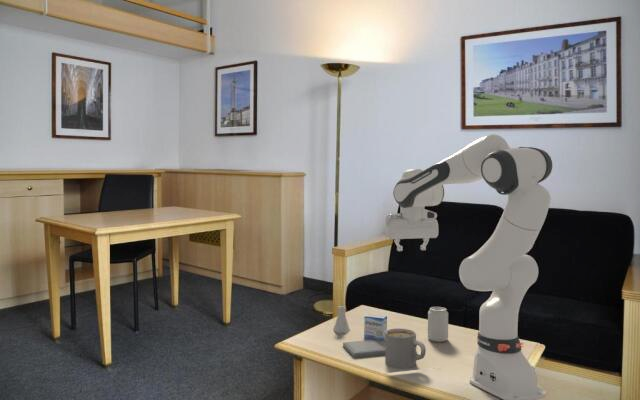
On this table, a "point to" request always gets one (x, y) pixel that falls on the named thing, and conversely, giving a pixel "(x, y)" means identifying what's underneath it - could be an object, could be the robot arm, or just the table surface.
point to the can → (438, 324)
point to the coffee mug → (402, 348)
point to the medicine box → (375, 327)
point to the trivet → (364, 348)
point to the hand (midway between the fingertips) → (411, 250)
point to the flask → (341, 321)
